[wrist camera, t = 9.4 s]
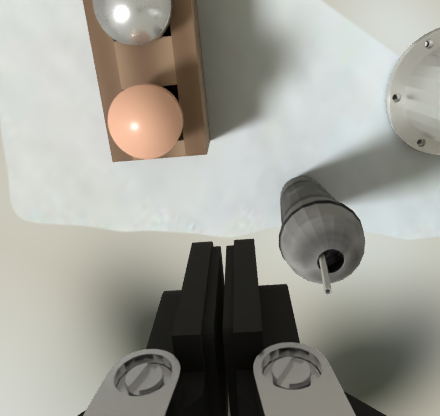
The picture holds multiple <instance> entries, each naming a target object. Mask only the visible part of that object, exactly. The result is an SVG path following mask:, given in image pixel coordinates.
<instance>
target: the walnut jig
mask: <svg viewBox="0 0 440 416" xmlns="http://www.w3.org/2000/svg"><path fill="white" fill-rule="evenodd" d="M172 2H173V13H172V18H171V21H170V30H171V36H167V37H160V38H159V39H157V40H156V41H154V42H152V43H149V44H146V45H127V44H123V43H121V42H118V41H116V40H115V39H113V38H112V37H110V36H109V35H108V34H107V33H106V32H105V31H104V30H103V29H102V27H101V26H100V24H99V22H98V20H97V18H96V15H95V12H94V8H93V0H83V4H84V9H85V14H86V20H87V25H88V31H89V36H90V41H91V47H92V52H93V58H94V63H95V69H96V74H97V79H98V85H99V90H100V96H101V101H102V106H103V112H104V117H105V123H106V128H107V134H108V139H109V144H110V150H111V155H112V161H113V162H119V161H132V160H144V159H140V158H136V157H133V156H131V155H129V154H127V153H125V152H124V151H123V150H122V149H120V148H119V147H118V145H117V144H116V143H115V142H114V140H113V138H112V136H111V134H110V131H109V127H108V112H109V108H110V106H111V104H112V102H113V100H114V99H115V98H116V96H117V95H118V94H119V93H121V92H122V91H123V90H125V89H127V88H129V87H132V86H134V85H138V84H142V83H151V84H156V85H159V86H167V85H177V88H178V96H179V104H180V106H181V109H182V112H183V119H184V122H183V129H182V132H181V135H180V137H179V139H178V140H177V142H176V144H175V145H174V147H173V148H172V149H171V150H170V151H169V152H167V153H166V154H164V155H162V156H160V157H157V158H168V157H181V156H193V155H205V154H207V152H208V148H209V143H210V135H209V125H208V115H207V105H206V95H205V85H204V75H203V64H202V54H201V44H200V34H199V24H198V14H197V4H196V0H172ZM154 159H156V158H154Z"/></svg>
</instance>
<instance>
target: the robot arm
mask: <svg viewBox="0 0 440 416" xmlns="http://www.w3.org/2000/svg"><path fill="white" fill-rule="evenodd" d="M425 41H427V43H428V44H427V46H426V47H425V46H424V44H425ZM393 95H396V98H395V99H392V97H393ZM385 102H386V112H387V115H388V119H389V122H390V124H391V126H392V128H393V130H394V131H395V133H396V134H397V135H398V136H399V137H400V138H401V140H402V141H404V142H405V143H407V144H408V145H409V146H411V147H413V148H414V149H416V150H418V151H421V152H425V153H428V154H434V155H440V28H438V29H435V30H433V31H431V32H429V33H427V34H425V35H424V36H422V37H421V38H419V39H418V40H417V41H415V42H414V43H413V44H412V45H411V46H410V47H409V48H408V49H407V50H406V51H405V52H404V53H403V54H402V56H401V57H400V59H399V60H398V62H397V63H396V65H395V67H394V69H393V71H392V73H391V75H390V78H389V81H388V85H387V89H386V99H385ZM419 139H420V142H419V143H417V141H418V140H419ZM228 394H229V404H230V413H231V416H386V415H384V414H383V413H381V412H379V411H377V410H376V409H374V408H372V407H370V406H369V405H367V404H365V403H363V402H362V401H360V400H358V399H356V398H355V397H353V396H351V395H349V394H348V393H346V392H344V391H343V390H342V388H341V386H340V384H339V382H338V380H337V378H336V376H335V374H334V372H333V370H332V368H331V366H330V364H329V362H328V361H327V359H326V358H325V357H324V356H323V354H322V353H320V352H319V351H317V350H316V349H314V348H312V347H310V346H307V345H305V344H301V343H300V342H299V337H298V332H297V328H296V323H295V318H294V314H293V309H292V305H291V300H290V295H289V290H288V286H287V285H286V284H280V285H262V286H258V277H257V266H256V255H255V245H254V239H244V240H234V245H233V246H227V247H226V268H225V285H224V274H223V265H222V255H221V247H220V246H216V247H213V242H198V243H192V246H191V250H190V255H189V259H188V264H187V268H186V273H185V277H184V282H183V286H182V290H176V291H164V292H163V294H162V297H161V301H160V304H159V307H158V311H157V314H156V318H155V321H154V325H153V328H152V331H151V334H150V338H149V341H148V345H147V348H146V349H145V350H141V351H137V352H134V353H131V354H129V355H127V356H125V357H123V358H122V359H121V360H119V361H118V362H117V363H115V365H114V366H113V367H112V368H111V370H110V371H109V372H108V374H107V376H106V378H105V379H104V381H103V382H102V384H101V386H100V388H99V389H98V391H97V393H96V394H95V396H94V398H93V399H92V401H91V403H90V405H89V406H88V408H87V410H86V411H84V412H82V413H81V414H80V415H78V416H228Z"/></svg>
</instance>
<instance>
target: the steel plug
mask: <svg viewBox="0 0 440 416" xmlns="http://www.w3.org/2000/svg"><path fill="white" fill-rule="evenodd" d="M93 8H94V12H95V15H96V18H97V20H98V22H99V24H100V26H101V27H102V29H103V30H104V31H105V32H106V33H107V34H108V35H109V36H110V37H112V38H113V39H115V40H116V41H118V42H121V43H123V44H127V45H146V44H149V43H152V42H154V41H156V40H157V39H159V38H160V37H161V36H162V35H163V34H164V33H165V31H166V30H167V28H168V26H169V24H170V21H171V18H172V13H173V2H172V0H93Z"/></svg>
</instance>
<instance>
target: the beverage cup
mask: <svg viewBox="0 0 440 416" xmlns="http://www.w3.org/2000/svg"><path fill="white" fill-rule="evenodd" d="M280 205H281V220H282V226H281V230H280V234H279V248H280V251H281V254H282V256H283V258H284V260H285V261H286V262H287V263H288V265H289V266H290V267H291V268H292V269H293V271H294V272H295V273H296V274H298V275H299V276H301V277H303V278H304V279H306V280H308V281H312V282H315V283H320V284H323V287H324V292H325V294H327V295H328V294H331V293H332V291H331V285H330V283H333V282H337V281H340V280H343V279H344V278H346V277H347V276H349V275H350V274H352V272H353V271H354V270H355V269H356V267H358V265H359V264H360V261H361V259H362V257H363V254H364V246H365V237H364V232H363V228H362V225H361V222H360V219H359V218H358V217H357V215H356V214H355V213H354V212H353V210H351V209H350V208H348V207H347V206H345V205H344V204H342V203H339V202H337V201H336V200H335V199H334V198H333V197H332V196H331V195H330V194H329V193H328V192H327V191H326V190H325V189H324V188H323V187H322V186H321V185H320V184H318V183H317V182H316V181H314V180H312V179H311V178H308V177H296V178H293V179H291V180H290V181H288V182H287V183H286V184H285V185H284V187H283V188H282V191H281V198H280Z"/></svg>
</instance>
